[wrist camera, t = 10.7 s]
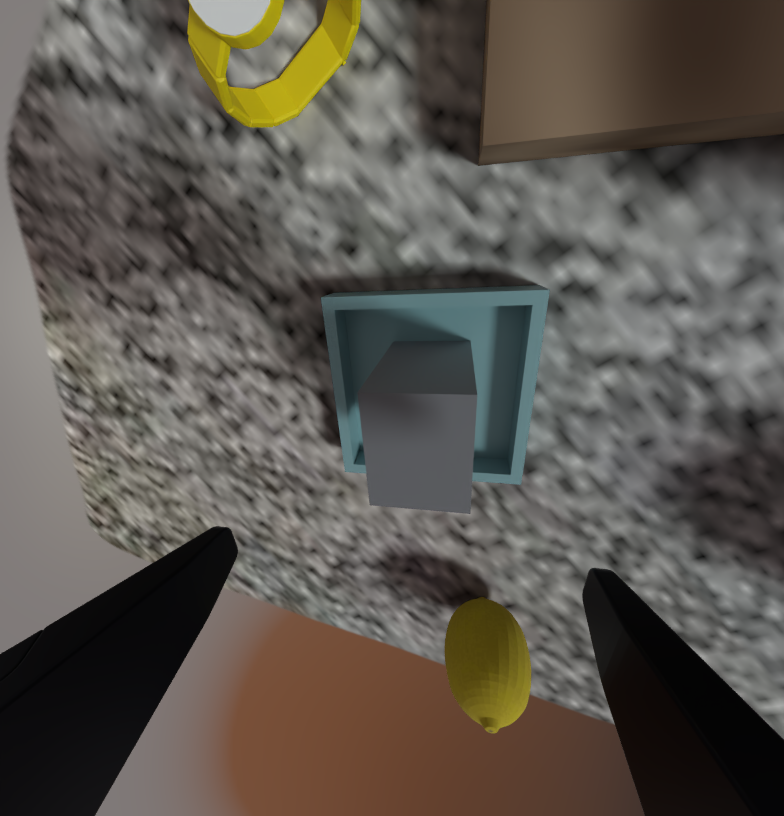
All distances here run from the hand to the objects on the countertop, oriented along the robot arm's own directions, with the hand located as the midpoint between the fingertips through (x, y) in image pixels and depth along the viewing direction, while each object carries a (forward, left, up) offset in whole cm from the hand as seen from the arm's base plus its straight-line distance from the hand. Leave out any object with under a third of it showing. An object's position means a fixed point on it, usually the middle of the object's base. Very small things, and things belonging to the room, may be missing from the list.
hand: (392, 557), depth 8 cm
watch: (+5, -14, -12) cm, 19 cm away
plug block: (0, 0, -11) cm, 11 cm away
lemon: (-4, +18, -12) cm, 22 cm away
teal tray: (0, 0, -12) cm, 12 cm away
